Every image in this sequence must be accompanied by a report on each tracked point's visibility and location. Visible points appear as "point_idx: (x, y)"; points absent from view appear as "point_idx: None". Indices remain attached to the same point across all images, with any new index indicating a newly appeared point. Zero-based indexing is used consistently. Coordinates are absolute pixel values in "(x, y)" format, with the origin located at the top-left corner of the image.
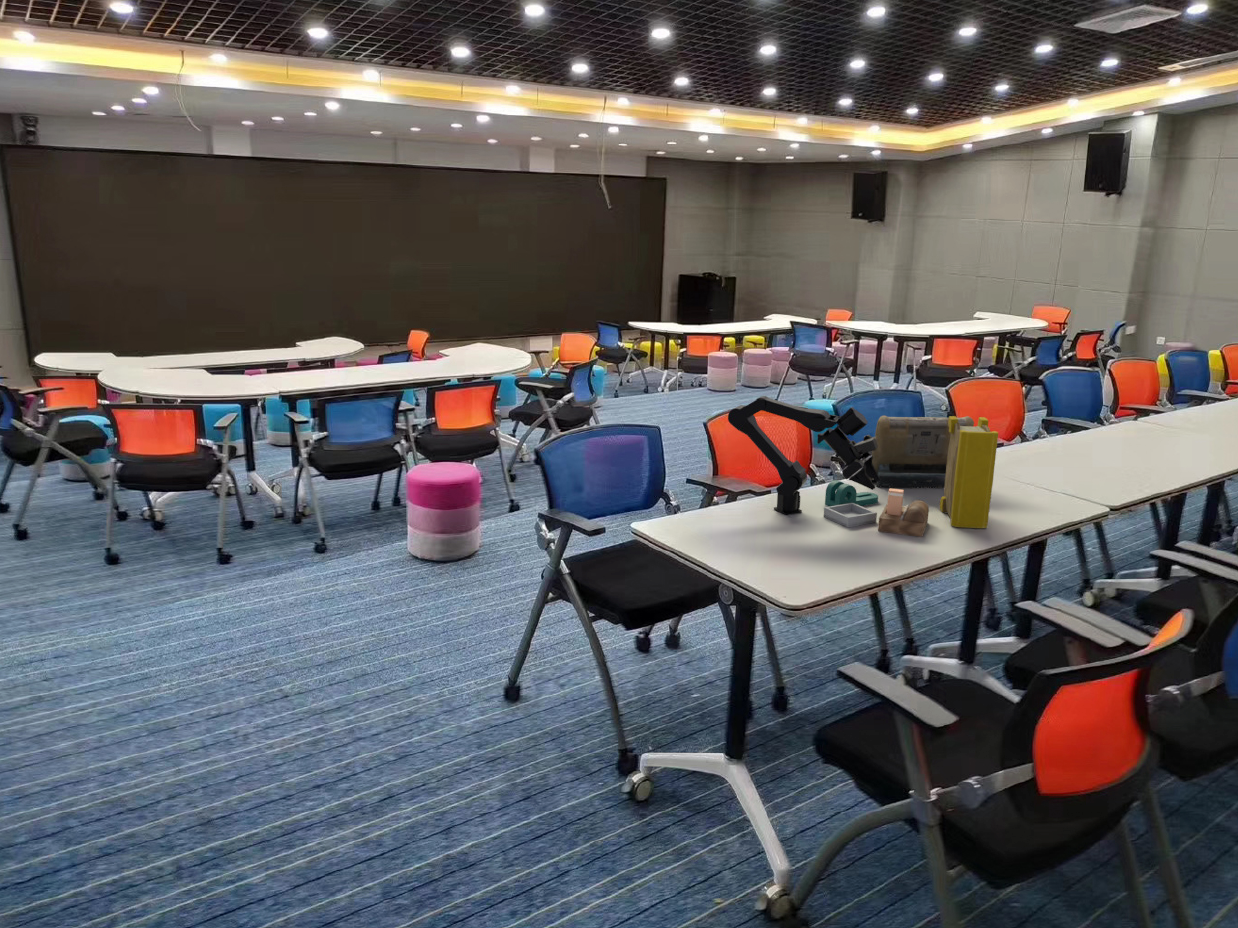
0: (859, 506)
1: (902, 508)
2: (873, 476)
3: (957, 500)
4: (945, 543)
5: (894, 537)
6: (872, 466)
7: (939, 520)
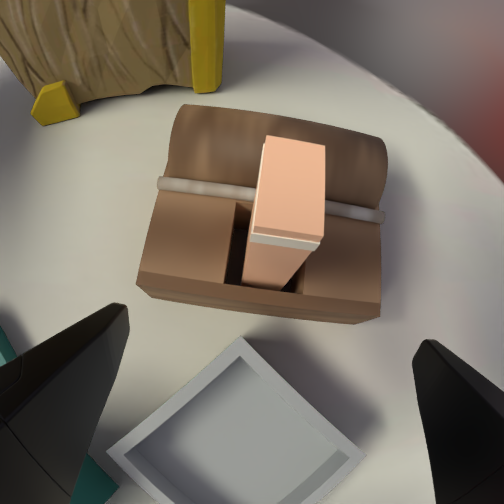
0: (156, 423)
1: (184, 207)
2: (102, 376)
3: (222, 16)
4: (375, 126)
5: (398, 261)
6: (19, 406)
7: (155, 118)
